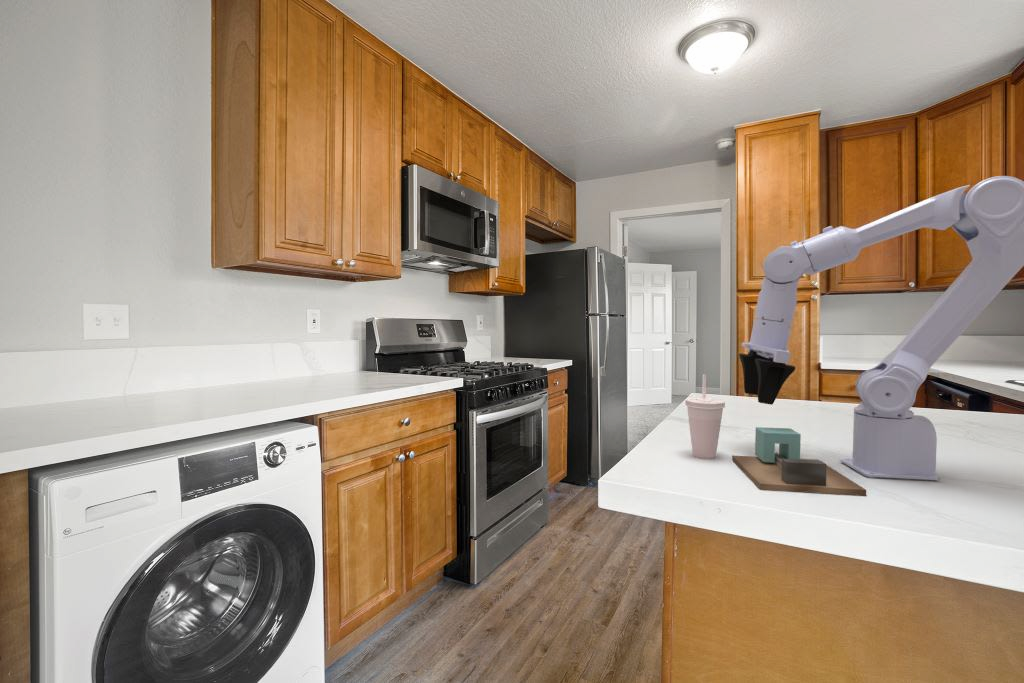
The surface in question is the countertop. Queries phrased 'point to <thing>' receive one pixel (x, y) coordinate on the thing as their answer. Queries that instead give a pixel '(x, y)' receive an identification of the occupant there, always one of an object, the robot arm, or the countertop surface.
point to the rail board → (775, 474)
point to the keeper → (781, 436)
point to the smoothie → (704, 423)
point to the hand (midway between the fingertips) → (757, 398)
